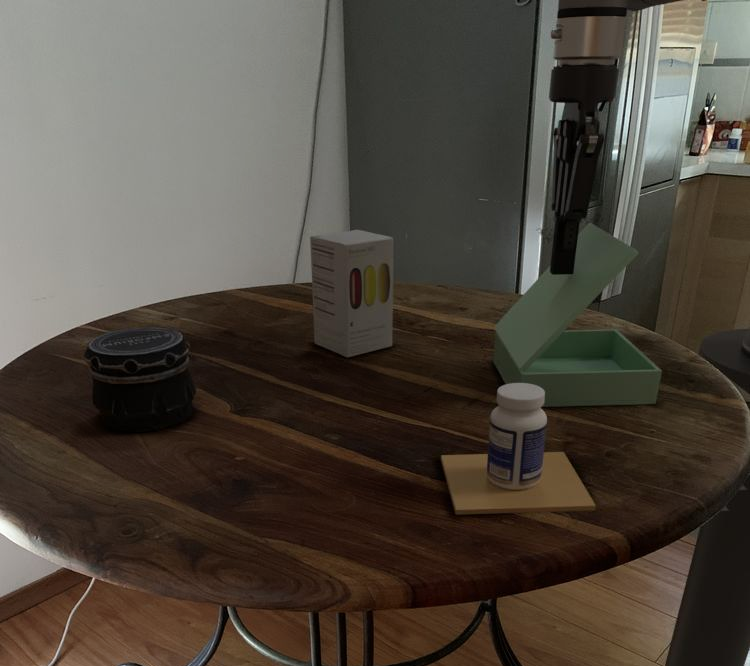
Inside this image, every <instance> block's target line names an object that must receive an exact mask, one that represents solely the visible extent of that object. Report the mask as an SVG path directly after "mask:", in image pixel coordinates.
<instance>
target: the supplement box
mask: <svg viewBox="0 0 750 666" xmlns="http://www.w3.org/2000/svg"><path fill="white" fill-rule="evenodd" d="M309 239H310V241H309V243H310V265H311V267H310V268H311V287H312V289H311V290H312V312H313V313H312V315H313V335H314V337H313V338H314V339H313V340H314V344H315V345H317V346H320V347H321V348H323V349H326V350H329V351H331V352H333V353H335V354H338V355H340V356H342V357H345V358H351V357H355V356H359V355H363V354H367V353H371V352H374V351H379V350H382V349H386V348H390V347H393V330H394V329H393V328H394V327H393V325H394V324H393V323H394V322H393V321H394V320H393V319H394V317H393V315H394V237H392V236H388V235H384V234H379V233H375V232H374V233H373V232H370V231H367V230H362V229H353V230H348V231H339V232H333V233H326V234H319V235H311V236H310V237H309Z"/></svg>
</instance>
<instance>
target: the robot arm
mask: <svg viewBox="0 0 750 666" xmlns="http://www.w3.org/2000/svg"><path fill="white" fill-rule="evenodd" d="M680 1H683V0H558V5H557V15H556V25H555V27H556V28H552V29H551V31H550V38H551V39H552V40H554V45H553V55H552V58H553V59H554V60H555V61H557V65H554V66H553V69H551V71H550V81H549V82H550V83H549V92H548V99H549V101H550V102H551V103H556V104H557V103H558V104H564V105H563V111H562V114H561V119H559V120H558V123H557V127H554V129H553V131H552V132H553V133H552V136H553V165H552V166H553V167H552V169H553V170H552V187H551V189H552V190H551V204H550V205H551V206H550V207H551V211H552V212H554V213H553V215H554V216H553V221H554V229H553V238H552V248H551V256H550V265H551V266H550V265H549V266H550V273H551V274H552V275H564V274H573V272H574V264H575V256H576V248H577V240H578V235H579V233H580V232H579V229H580V224H581V222H582V220H586V219H587V217H588V212H589V208H590V204H591V203H590V202H591V198H592V196H591V195H592V192H593V187H594V182H595V177H596V174H597V173H596V172H597V168H598V162H599V157H600V154H601V151H602V148H603V146H604V142H605V135H604V133H599V132H600V123H601V122H600V120H599V104H600V103H611V102H613V101H614V100H615V99H616V93H617V86H618V78H619V70H620V69H619V68H618V65H615V63H616V60H619V59H620V58H622V54H623V46H624V39H625V38H624V37H625V32H626V31H625V30H626V22H627V14H628V13H627V12H628V11H631V12H639V11H642V10H645V9H649V8H652V7H656V6H662V5H667V4H672V3H677V2H680ZM706 1H707V0H701V2H706ZM748 329H749V330H748V332H747V333H746V335H745V337H744V339H743V343H742V347H741V350H742V352H743V353H744V354H745V355H747V356H748V357H750V328H748Z"/></svg>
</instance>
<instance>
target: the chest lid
mask: <svg viewBox="0 0 750 666" xmlns="http://www.w3.org/2000/svg"><path fill="white" fill-rule="evenodd" d="M638 255H639V251H637V249H635V248H634V247H633V246H631V245H629V244H627V243H625V242H624V241H622V240H620V239H619V238H617V237H615V236H614V235H612V234H611V233H609V232H607V231H605V230H604V229H602V228H600V227H598V226H597V225H595V224H593V223H591V222H589V223H588V224H587V225H585V227H583V229H582V230H581V231H580V232H579V233H578V240H577V248H576V256H575V264H574V272H573V274H564V275H552V274H551V273H550V266H551V264H550V265H549V266H548V267H547V268H546V269H545V270H544V271H543V272H542V274H541V275H540V276H539V277H538V278H537V279H536V280H535V282H534V283H533V284H532V285H531V286H530V287H529V288H528V289H527V290H526V292H524V293H523V294H522V296H520V298H519V299H518V300H517V301H516V302H515V303H514V304H513V306H512V307H511V308H510V309H509V310H508V311H507V312H506V313H505V314H504V315H503V317H501V318H500V319H499V321H498V322H497V323H496V324H495V325H494V326H493V328H494V330H495V332H497V333H498V335H499V336H500V338H501V340H502V341H503V343H504V345H505V346H506V348H507V349H508V351H509V353H510V354H511V356H512V357H513V359H514V361H515V362H516V364H517V366H518V367H519V369H520V370H521V371H523V372H525V371H526V370H527V369H528V368H529V367H530V366H531V365H532V364H533V363H534V361H535V360H536V359H537V358H538V357H539V356H540V355H541V354H542V353H543V352H544V351H545V350H546V349H547V348H548V347H549V346H550V345H551V344H552V343H553V342H554V341H555V340H556V339H557V338H558V337H559V336H560V334H561V333H562V332H563V331H564V330H566V329H568V327H569V326H570V325H571V324H572V323H573V322H574V321H576V319H577V318H578V317H579V316H580V315H581V314H582V313H583V312H584V311H585V310H586V309H587V308H588V306H590V305H591V303H593V301H595V300H596V298H598V296H599V295H601V293H602V292H603V291H604V290H605V289H606V288H607V287H608V286H609V285H610V284H611V283H612V282H613V281H614V280H615V279H616V278H617V276H618V275H620V273H621V272H622V271H623V270H624V269H625V268H626V267H627V266H628V265H629V264H630V263H631V262H632V261H633V260H634V259H635V258H637V256H638Z"/></svg>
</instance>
